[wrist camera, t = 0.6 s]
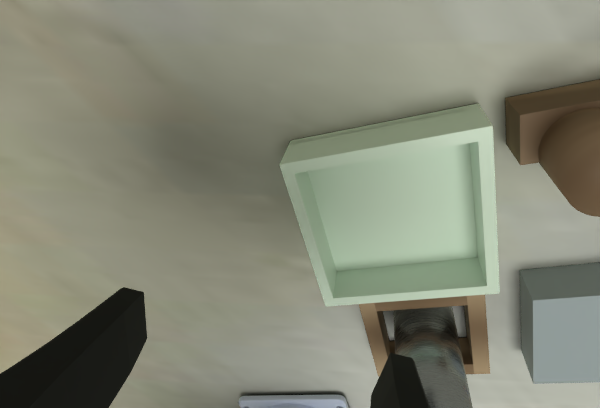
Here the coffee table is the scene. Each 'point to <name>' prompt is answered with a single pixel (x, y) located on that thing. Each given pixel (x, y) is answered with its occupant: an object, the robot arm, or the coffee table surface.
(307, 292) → the coffee table surface
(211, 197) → the coffee table surface
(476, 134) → the tray
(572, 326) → the pale blue block
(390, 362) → the robot arm
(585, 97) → the brown block with knobs
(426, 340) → the dowel
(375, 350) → the socket
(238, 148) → the coffee table surface
